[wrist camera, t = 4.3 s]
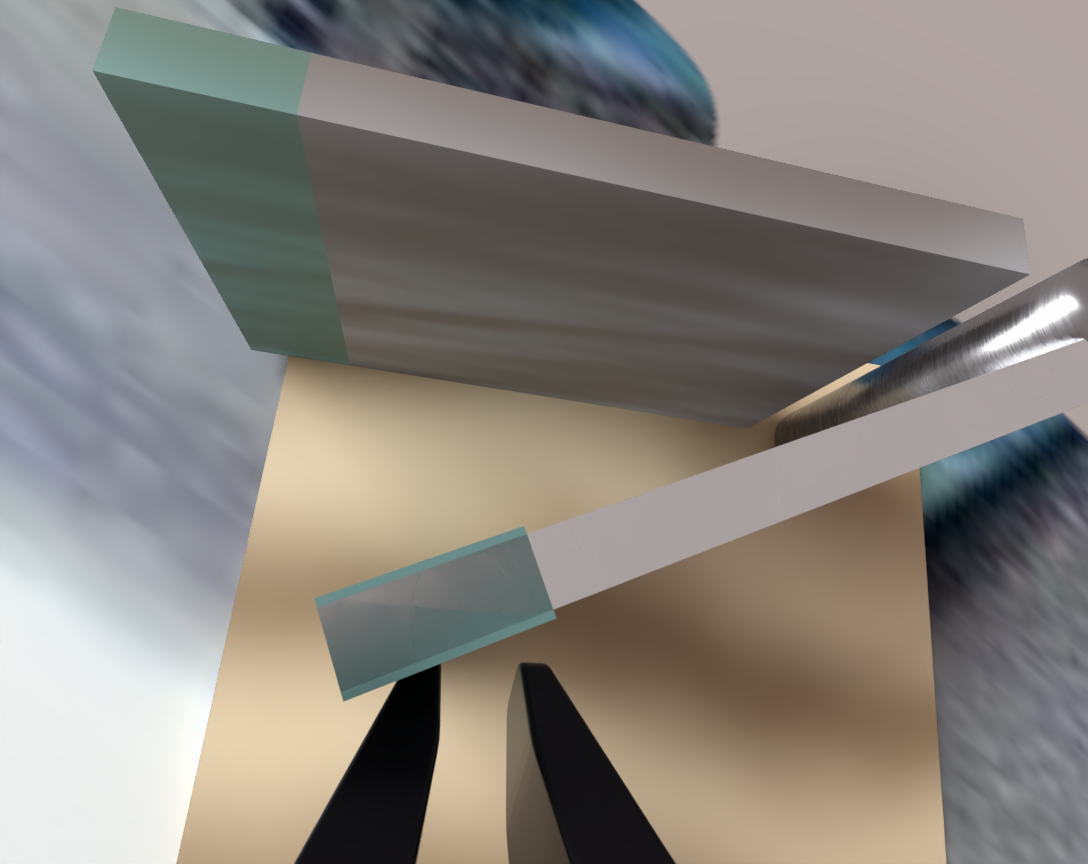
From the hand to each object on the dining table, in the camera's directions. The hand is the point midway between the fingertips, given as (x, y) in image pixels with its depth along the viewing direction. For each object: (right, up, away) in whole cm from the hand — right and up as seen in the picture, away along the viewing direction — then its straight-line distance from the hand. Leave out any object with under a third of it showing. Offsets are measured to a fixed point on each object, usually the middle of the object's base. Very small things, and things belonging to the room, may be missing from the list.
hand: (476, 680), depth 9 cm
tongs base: (+2, -2, +8) cm, 9 cm away
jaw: (+3, +1, +8) cm, 8 cm away
